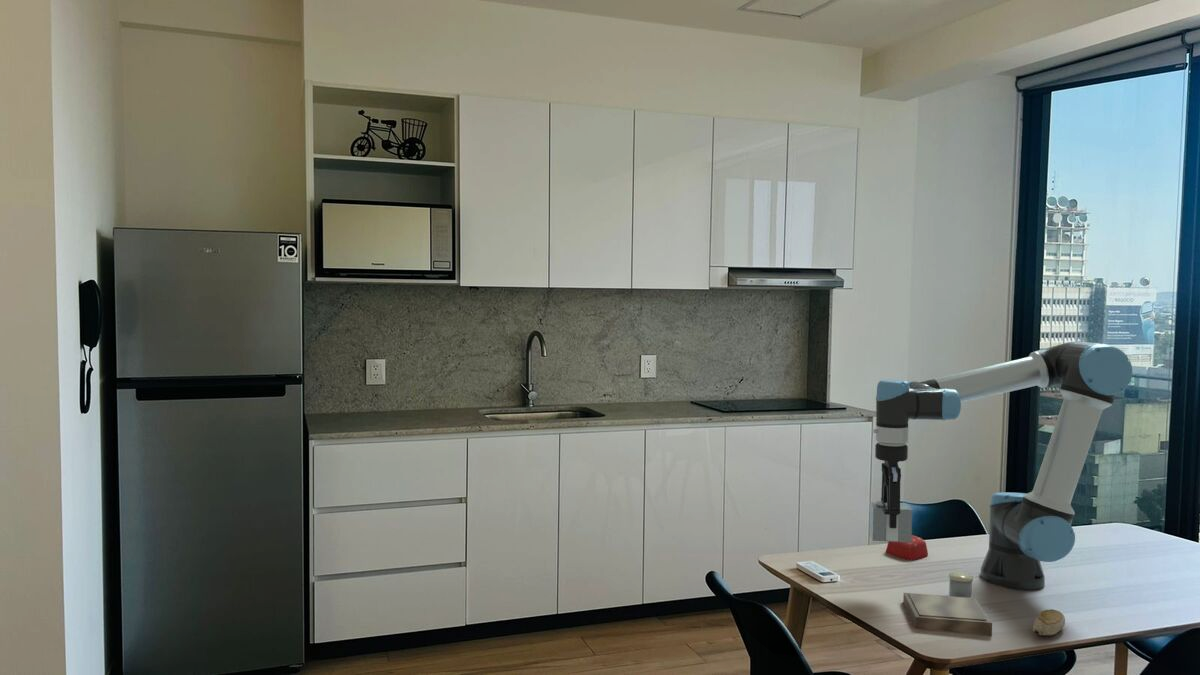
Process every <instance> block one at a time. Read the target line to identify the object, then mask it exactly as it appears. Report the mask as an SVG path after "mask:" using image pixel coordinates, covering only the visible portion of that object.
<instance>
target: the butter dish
mask: <svg viewBox="0 0 1200 675" xmlns="http://www.w3.org/2000/svg"><path fill="white" fill-rule="evenodd" d="M885 553H887V554H889V555H891V556H894V557H896V558H900V559H903V560H907V561H919V560H922V559H924V558H927V557H928V556H929V552H928V547H927V542H926V540H924V539H923V538H922V537H919V536H916V535H913V534H912V538H911V543H909V542H889V541H887V546H886V548H885ZM927 560H930V558H927Z"/></svg>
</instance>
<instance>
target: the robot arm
mask: <svg viewBox="0 0 1200 675" xmlns="http://www.w3.org/2000/svg"><path fill="white" fill-rule="evenodd" d="M1132 378H1133V365H1132V362H1131V360H1130V359H1129V357H1128V355H1127V354H1126V353H1125V352H1124V351H1123V350H1122V349H1120V348H1118V347H1116V346H1113V345H1110V344H1108V343H1101V342H1090V341H1089V342H1087V341H1082V340H1081V341H1080V340H1079V341H1078V340H1077V341H1070V342H1069V341H1068V342H1065V343H1060V344H1058V345H1053V346H1050V347H1046V348H1042V349H1039V350H1035V351H1033V352H1030V353H1029V355H1028V356H1026V357H1022V358H1018V359H1014V360H1010V361H1006V362H1001V363H997V364H992V365H988V366H984V367H983V366H982V367H980V368H979V367H978V368H975V369H970V370H967V371H962V372H957V373H954V374H948V375H944V376H939V377H936V378H933V379H928V380H923V381H907V380H901V379H883V380H880V381H879V382H878V383H877V386H876V395H875V396H876V398H875V407H876V408H875V412H876V413H875V414H876V415H875V416H876V418H875V419H876V420H875V428H874V429H873V431H872V432H873V433H874V434H875V441H876V442H877V443H876V444H875V446H874V447H875V448H874V450H875V451H874V452H875V453H874V454H875V455H874V456H875V458H876V459H877V460H880V461H881V497H880V501H885V502H887V512H884V514H886V541H885V542H889V541H898V515H899V514H900V504H901V478H902V472H901V468H900V467H899V463H900V462H905V461H907V460H908V457H909V456H908V454H909V453H908V452H909V450H908V449H909V446H908V445H907V444H908V443H909V420H933V421H934V420H935V421H936V420H937V421H948V420H956V419H957V418H958V417H959V416H960V413H961V408H962V403H964V402H969V401H975V400H978V399H979V400H980V399H982V398H983V399H985V398H987V397H993V396H995V395H996V396H997V395H1000V394H1005V393H1010V392H1014V391H1019V390H1023V389H1027V388H1031V387H1035V386H1037V387H1038V388H1041V389H1046V388H1049V387H1051V388H1052V387H1059V386H1060V389H1059V392H1060V394H1061V395H1062V397H1063V401H1062V404H1061V407H1060V410H1059V412H1058V416H1057V419H1056V421H1055V424H1054V427H1053V429H1052V433H1051V436H1050V439H1049V441H1048V445H1047V448H1046V450H1045V453H1044V457H1043V459H1042V462H1041V465H1040V468H1039V471H1038V474H1037V478H1036V479H1035V483H1034V486H1033V488H1032V490H1031V491H1030V492H1028V493H1027V492H1026V493H1025V492H1009V491H1008V492H1006V491H1005V492H996V493H995V492H994V493H993V494H992V495H991V497H990V503H989V529H988V531H989V533H988V534H989V536H988V539H989V540H988V550H987V552H986V554H985V557H984V560H983V562H982V564H981V567H980V577H981V578H982V580H984V581H986V582H987V583H989V584H991V585H994V586H997V587H1001V588H1005V589H1010V590H1017V591H1019V590H1020V591H1034V590H1039V589H1042V588H1044V587H1045V580H1046V578H1045V574H1044V570H1043V566H1042V564H1041V562H1042V563H1043V562H1044V563H1053V562H1057V561H1059V560H1062V559H1064V558H1065V557H1066V556H1068V555H1069V554H1070V553H1071V551H1072V550H1073V548H1074V546H1075V542H1076V532H1075V531H1074V529H1073V526H1072V523H1073V520H1074V518H1075V514H1076V513H1075V510H1074V509H1073V506H1072V505H1071V503H1072V500H1073V498H1074V494H1075V491H1076V489H1077V486H1078V483H1079V480H1080V477H1081V473H1082V471H1083V469H1084V465H1085V462H1086V459H1087V457H1088V453H1089V451H1090V449H1091V448H1090V447H1091V445H1092V442H1093V439H1094V436H1095V434H1096V430H1097V428H1098V425H1099V421H1100V419H1101V416H1102V413H1103V411H1104V410H1105V409H1107V408H1109V407H1112V406H1113V403H1114V401H1115V398H1116V395H1117V394H1120V393H1121V392H1122V391H1125V390H1126V389H1127V387H1129V385H1130V384H1131V381H1132Z"/></svg>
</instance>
